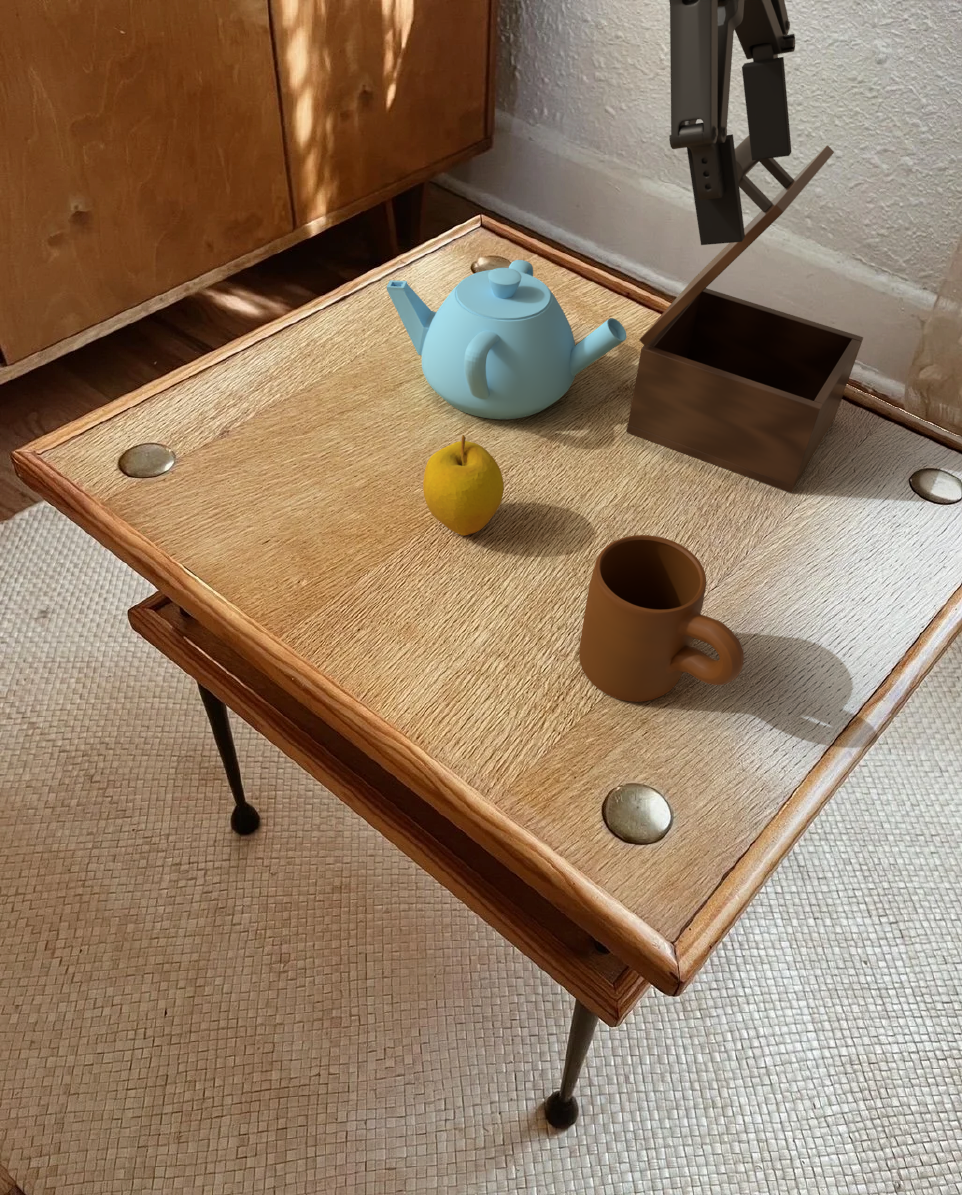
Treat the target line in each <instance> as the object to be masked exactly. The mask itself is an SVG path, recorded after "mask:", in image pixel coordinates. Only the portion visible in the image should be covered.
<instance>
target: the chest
mask: <svg viewBox="0 0 962 1195" xmlns="http://www.w3.org/2000/svg"><path fill="white" fill-rule="evenodd" d="M863 341H864V336H861V335H857V334H854V333H852V332H849V331H846V330H845V331H844V330H842V329H838V328H836V327H832V326H829V325H826V324H823V323H819V322H816V321H813V320H809V319H807V318H803V317H800V316H797V315H794V314H791V313H787V312H784V311H781V310H777V309H774V308H771V307H768V306H764V305H761V304H758V303H755V302H751V301H749V300H746V299H742V298H739V297H736V296H734V295H733V296H732V295H730V294H726V293H723V292H720V291H717V290H713V289H711V288H708V287H706V288H705V289H704V290H703V291H702V292H701V293H700V294H699V295H698V296H697V297H696V298H695V299H694V300H693V301H692V302H691V303H690V304H689V305H688V306H687V307H686V308H685V309H684V310H683V311H682V312H681V313H680V314H679V315H678V316H676V317H675V318H674V319H673V320H672V321H671V322H670V323H669V324H668V325H667V326H666V327H665V328H664V329H663V330H662V331H661V332H660V333H659V334H658V335H657V336H656V337H655V338H654V339H653V340H652V341H651V342H650V343H649V344H648V345H647V346H644V345H643V346H642V347H641V348H640V353H639V358H638V364H637V370H636V375H635V380H634V387H633V392H632V398H631V404H630V410H629V415H628V421H627V426H626V432H625V433H627V434H631V435H632V436H633V435H634V436H636V437H638V438H641V439H644V440H646V441H649V442H651V443H653V444H658V445H661V446H663V447H665V448H668V449H671V450H673V451H676V452H678V453H681V454H684V455H687V456H690V457H692V458H695V459H698V460H700V461H703V462H706V463H709V464H712V465H714V466H716V467H719V468H721V469H725V470H728V471H730V472H733V473H736V474H738V475H741V476H744V477H746V478H749V479H752V480H753V481H754V480H755V481H757V482H760V483H763V484H765V485H768V486H771V487H773V488H775V489H779V490H782V491H783V492H787V493H790V494H793V492H794V490H795V488H796V487H797V485H798V483H799V482H800V480H801V478H802V476H803V474H805V471H806V469H807V468H808V466H809V464H810V462H811V461H812V459H813V457H814V455H815V453H816V452H817V450H818V448H819V447H820V445H821V443H822V442H823V440H824V438H825V437H826V435H827V433H828V431H829V429H830V428H831V427H832V425H833V423H834V421H835V419H836V417H837V413H838V410H839V408H840V405H841V402H842V399H843V397H844V394H845V391H846V388H847V386H848V382H849V379H850V377H851V374H852V372H853V369H854V365H855V363H856V360H857V358H858V356H859V352H860V350H861V349H860V348H861V346H862V343H863Z"/></svg>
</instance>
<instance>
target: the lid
mask: <svg viewBox="0 0 962 1195" xmlns="http://www.w3.org/2000/svg"><path fill="white" fill-rule="evenodd" d="M734 148H735V156H736V164H737V173H738V181H739V189H741V191H742V192H743V193H744V194H745V195H746V196H747V197H748V198H749V199H750V200H751V201H752V202H753V203H754V204H755V206H756V207H758V208H759V209H760V212H759V213H758V214H756V216H755V217H753V218H752V220H750V221H749V223H748V224H747V225H746V226H744V232H745V237H744V239H743V241H742V242H734V243H727V244H726V246H724V247H723V249H721V251H719V253H718V254H717V255H715V257H714V258H712V259H711V261H710V262H708V264H706V266H704V268H703V269H702V270H700V271H699V273H697V275H695V277H694V278H693V279H692V280H691V281H690V282H689V283H688V284H687V285H686V287H685V288H684V289H683V290H682V291H681V292H680V293H679V294H678V295H677V296H676V298H675V299H674V300H673V301H672V303H670V304H669V305H668V307H666V309H665V310H664V311H663V312H662V313H661V315H659V317H658V318H657V319H656V320H655V321H654V322H653V323H652V325H650V327H649V328H648V329H647V330H646V331H645V332H644V333H643V335H642V336H641V337H640V338H639V342H640V343H641V344H642V345H643V346H647V345H648V344H649V343H650V342H651V341H652V340H653V339H654V338H655V337H656V336H657V335H658V334H659V333H660V332H661V331H662V330H663V329H664V328H665V327H666V326H667V325H668V324H669V323H670V322H671V321H672V320H673V319H674V318H675V317H676V316H678V315H679V314H680V313H681V312H682V311H683V310H684V309H685V308H686V307H687V306H688V305H689V304H690V303H691V302H692V301H693V300H694V299H695V298H696V297H697V296H698V295H699V294H700V293H701V292H702V291H703V290H704V289H705V288H708V286H710V285H711V284H712V283H713V282H714V281H715V280H716V279H717V278H718V277H719V276H720V275H721V274H722V273H723V272H724V271H725V270H726V269H727V268H728V267H729V266H730V265H731V264H732V263H733V262H734V261H735V260H737V258H738V257H739V256H741V255H742V254H743V252H745V250H747V249H748V248H749V247H750V246H751V245H752V244H753V243H754V242H755V241H756V240H757V239H758V238H759V237H760V236H761V235H762V234H763V233H764V232H765V231H766V230H767V229H768V228H769V227H770V226H771V225H772V224H773V223H774V222H776V220H777V219H779V218H780V217H781V216H782V215H783V213H785V212H786V210H787V209H788V208H789V207H790V206H791V204H792V203H793V202H794V201H795V200H796V198H797V197H798V196H799V195H800V194H801V193H802V191H803V190H804V189H805V188H806V187H807V185H808V184H809V183H810V182H811V181H812V180H813V178H814V177H815V176H816V175H817V173H818V172H819V171H820V170H821V169H822V168H823V167H824V165H825V164H826V163H827V162H828V161H829V160H830V158H831V157H832V156H833V155H834V154H835V151H834V150H833V149H832V147H830V145H826V146H825V147H824V148H823V149H821V150H820V152H819V153H818V154H817V155H815V157H814V158H812V160H810V162H809V163H808V164H807V165H806V166H804V168H803V169H801V170H800V172H799V173H798V174H797V175H795V176H794V178H793V177H792V175H791V174H789V173H788V171H786V170H785V169H784V167H782V166H781V164H780V163H778V161H777V160H776V158H768V159H759V160H752V156H751V147H750V138H749V135H747V136H746V137H745V138H743V140H742V141H741V142H740V143H739V144H738V145H737V146H736V147H734ZM758 163H760V165H762V166H763V167H764V169H766V170H767V171H768V173H769V174H770V175H772V177H774V179H775V180H776V181H777V182H778V183H779V184H780V186H782V187H783V189H782V190H781V191H780V192H778V193H777V195H776V196H775V197H773V199H772V200H770V199H769V197H767V196H766V194H764V192H762V190H761V189H760V188H759V187H758V186H757V185H756V184H755V183H754V182H753V181H752V180H751V179H750V178H749V177H748V176H747V174H749V173H750V172H751V171H752V169H753V168H755V167H756V165H757V164H758Z"/></svg>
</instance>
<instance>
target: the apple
mask: <svg viewBox="0 0 962 1195" xmlns="http://www.w3.org/2000/svg"><path fill="white" fill-rule="evenodd" d="M466 438H467V437H466V436H465V435H464V434H462V436H461V440H459V441H455V442H453V443H451V444H449V445H447V446H445V447H443V448H441V449H439V450H437V451H436V452H435V453H433V454H432V455H431V456H430V457H429V459H428V461H427V463H426V465H425V469H424V474H423V482H422V486H423V487H422V490H423V497H424V501H425V503H426V506H427V508H428V511H429V512H430V514H432V516H433V517H434V518H435V519H436V520H437V521H438V522H439V523H441V524H442V525H444V526H445V527H446V529H449V530H450V531H451V532H453V533H455V534H458V535H459V536H467V535H471V534H476V533H477V532H479V531H481V530H483V529H484V528H485V526H487V525H488V523H489V522H490V521H491V519H492V518H493V517H494V515H495V514H496V513H497V511H498V509H499V507H500V505H501V503H502V501H503V500H502V499H503V497H504V490H505V483H504V477H503V474H502V471H501V468H500V466H499V464H498V462H497V461H496V459H495V458H494V457H493V455H492V454H491V453H490V452H488V450H487V449H486V448H484V447H483V446H482V445H480V444H478V443H476V442H475V441H469V440H466Z"/></svg>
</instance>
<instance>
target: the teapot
mask: <svg viewBox="0 0 962 1195" xmlns="http://www.w3.org/2000/svg"><path fill="white" fill-rule="evenodd" d="M386 292H387V294H388V295H389V297H390V298H389V299H391V301H392V304H393V306H394V308H395V310H396V312H397V314H398V317H399V318H400V321H401V323H402V324H403V327H404V329H405V331H406V333H407V334H408V337H409V339H410V341H411V343H412V345H413V347H414V349H415V351H416V353H417V355H418V356H421V370H422V373H423V376H424V378H425V380H426V382H427V384H428V385H429V386H430V387H431V389H432V390H433V391H434V392H435V393H436V394H437V395H438V396H439V397H440V398H441V399H443V401H445V402H446V403H447V404H449V405H450V406H451V407H453V408H455V409H456V410H458V411H460V412H462V413H465V414H467V415H470V416H474V417H479V418H482V419H489V420H515V419H517V420H518V419H522V418H527V417H530V416H532V415H536V414H538V413H540V412H542V411H544V410H546V409H548V407H551V406H552V405H553V404H554V403H556V402H557V401H559V400H560V399H561V398H562V397H563V396H564V395H566V394H567V392H568V391H569V390H570V388H571V386H572V385H573V382H574V381H575V378H576V376H577V375H578V374H579V373H581V372H582V371H583V370H586V368H588V367H589V366H590V365H592V364H593V363H595V362H596V361H598V360H599V359H601V358H602V357H603V356H605V355H606V354H608V353H609V352H611V351H612V350H613V349H615V348H616V347H618V346H620V344H622V343H623V342H624V341H626V340H627V338H628V337H627V336H628V335H627V331H626V329H625V327H624V325H623V324H622V323H621V322H620V321H619V320H618V319H616V318H613V317H609V318H608V319H607V320H605V321H604V322H603V323H602V324H600V325H599V326H598V327H597V328H596V329H594V330H593V331H592V332H590V333H589V334H588V335H587V336H585V337H584V338H583V339H582V340H580V342H578V343H577V344H576V342H575V337H574V333H573V330H572V327H571V325H570V322H569V320H568V318H567V316H566V314H565V312H564V309H563V307H561V305H560V303H559V301H558V299H557V298H556V296H555V295H554V294H553V292H552V291H551V289H550V288H549V286H548V285H546V283H544V282H543V281H542V280H540V279H539V278H537V277H536V276H534V266H533V265H532V263H530V262H529V261H527V260H525V259H515V260H513V261H512V262H511V263H510V264H509V266H508V267H497V268H494V269H487V270H483V271H477V272H475V273H473V274H470V275H468V276H466V277H464V278H463V279H462V280H461V281H459V282H458V284H456V286H455V287H453V289H452V290H451V291H450V292H449V294H448V295H447V297H446V298H445V299H444V300H443V302H442V303H441V304H440V306H439V308H438V309H437V310H436V311H434V310H431V308H429V307H428V305H427V304H426V303H425V302H424V301H423V299H421V297H420V296H419V295H418V293H416V292H415V291H414V290H413V288H412V287H411V286H410V285H409V283H408V280H395V279H394V280H393V279H392V280H391V279H390V280H389V281H388V283H387V285H386Z"/></svg>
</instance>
